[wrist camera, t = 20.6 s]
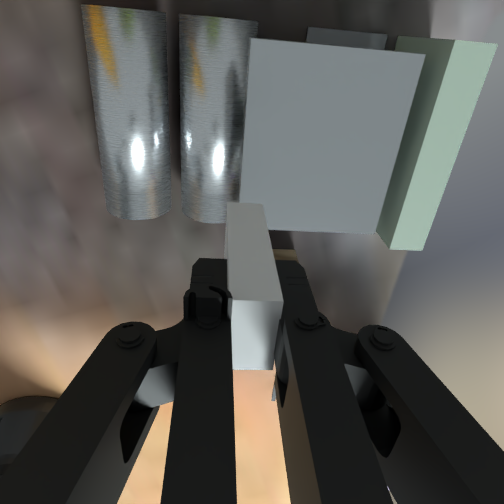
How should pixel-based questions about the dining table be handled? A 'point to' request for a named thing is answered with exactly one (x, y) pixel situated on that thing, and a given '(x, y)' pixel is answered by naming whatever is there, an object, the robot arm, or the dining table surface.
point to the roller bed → (167, 109)
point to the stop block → (431, 135)
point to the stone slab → (323, 132)
